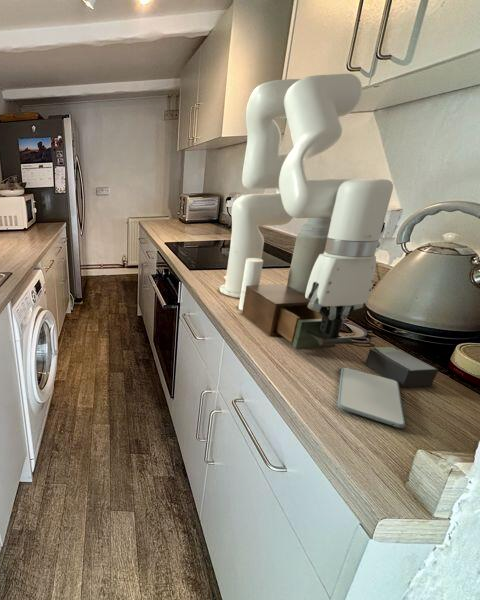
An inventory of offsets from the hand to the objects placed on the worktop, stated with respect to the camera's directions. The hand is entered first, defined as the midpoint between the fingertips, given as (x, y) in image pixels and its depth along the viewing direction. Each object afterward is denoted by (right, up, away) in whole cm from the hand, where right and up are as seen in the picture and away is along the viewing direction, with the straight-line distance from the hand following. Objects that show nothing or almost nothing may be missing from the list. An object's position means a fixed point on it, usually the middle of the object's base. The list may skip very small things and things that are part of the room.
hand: (328, 334), depth 66 cm
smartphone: (-1, -10, -10) cm, 14 cm away
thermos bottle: (+9, +3, +23) cm, 25 cm away
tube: (-3, +4, +28) cm, 28 cm away
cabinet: (0, +1, +18) cm, 18 cm away
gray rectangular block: (+10, -7, -4) cm, 13 cm away
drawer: (0, -2, +7) cm, 8 cm away
